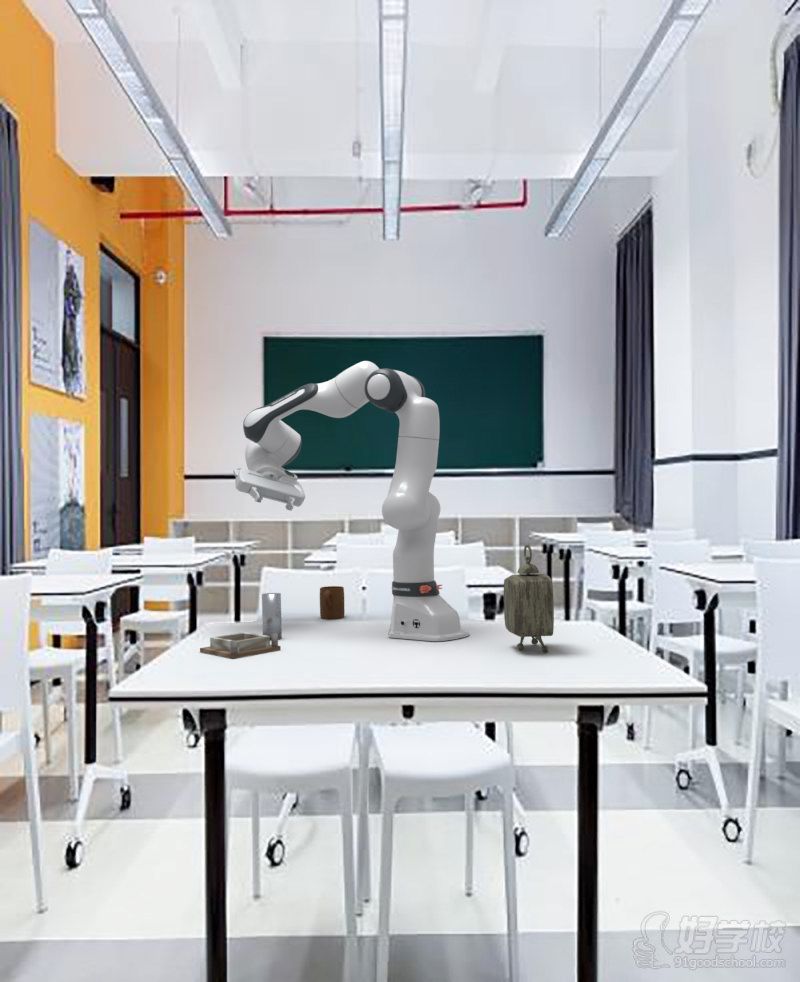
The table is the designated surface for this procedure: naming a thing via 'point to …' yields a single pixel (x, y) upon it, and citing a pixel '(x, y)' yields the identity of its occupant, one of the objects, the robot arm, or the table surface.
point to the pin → (271, 614)
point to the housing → (241, 645)
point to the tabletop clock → (529, 603)
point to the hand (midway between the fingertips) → (274, 504)
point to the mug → (332, 602)
